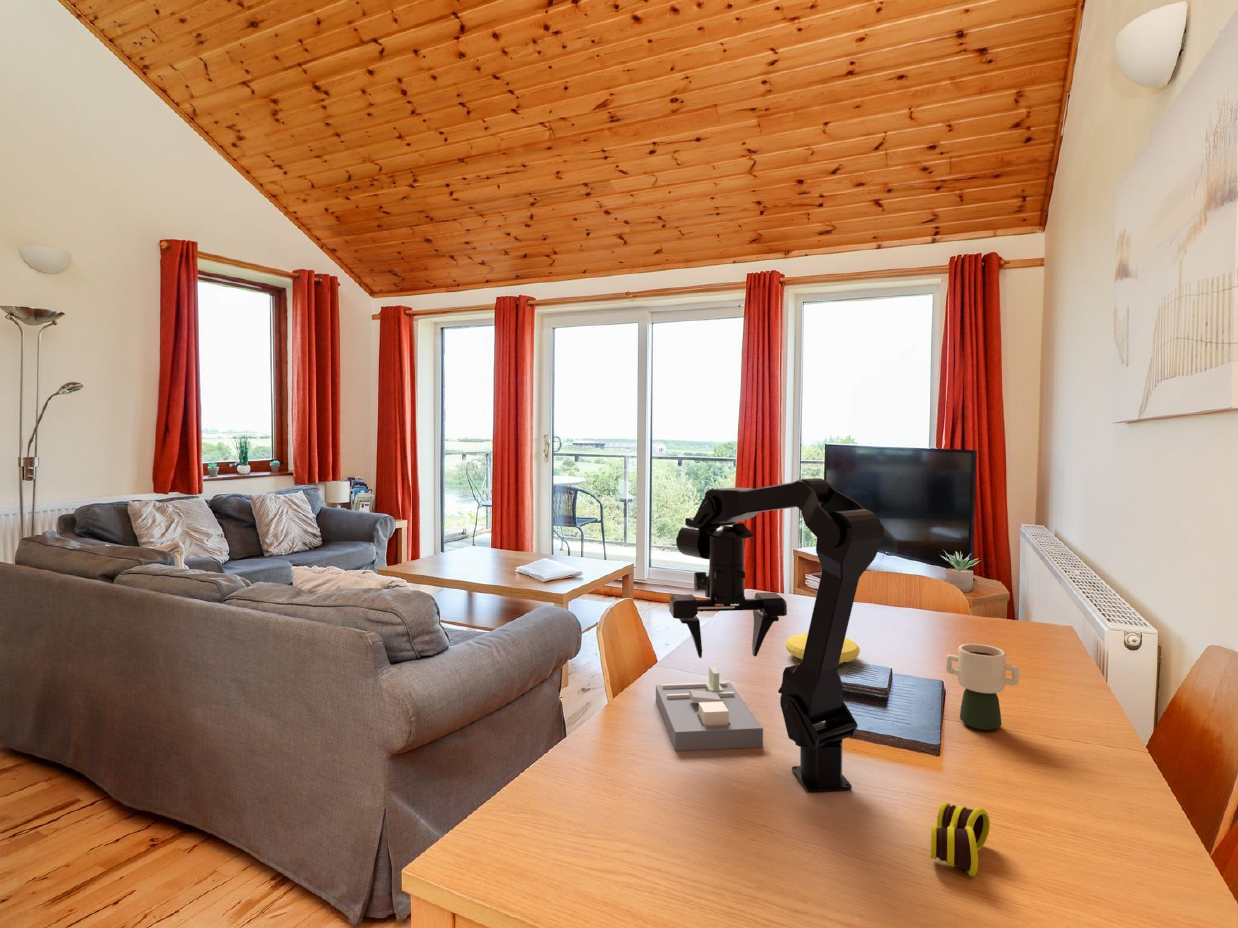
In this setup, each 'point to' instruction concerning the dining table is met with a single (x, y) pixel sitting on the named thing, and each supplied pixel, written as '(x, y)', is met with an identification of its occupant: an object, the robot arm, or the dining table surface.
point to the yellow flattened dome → (798, 643)
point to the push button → (713, 713)
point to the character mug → (981, 683)
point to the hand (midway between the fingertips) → (727, 656)
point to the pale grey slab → (703, 696)
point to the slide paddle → (713, 681)
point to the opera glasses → (959, 836)
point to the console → (689, 729)
